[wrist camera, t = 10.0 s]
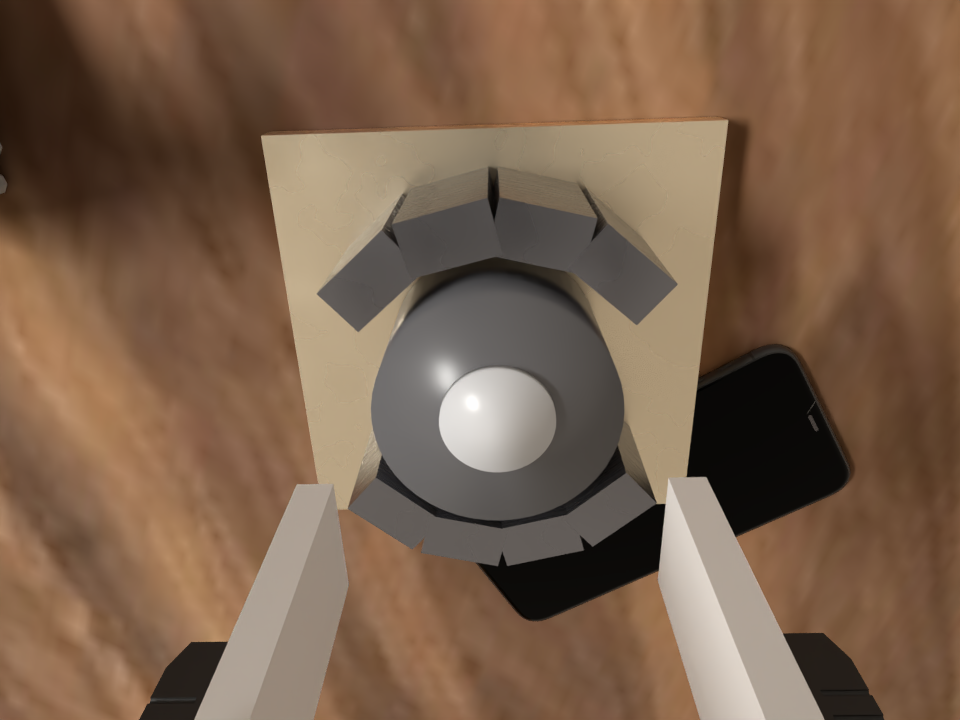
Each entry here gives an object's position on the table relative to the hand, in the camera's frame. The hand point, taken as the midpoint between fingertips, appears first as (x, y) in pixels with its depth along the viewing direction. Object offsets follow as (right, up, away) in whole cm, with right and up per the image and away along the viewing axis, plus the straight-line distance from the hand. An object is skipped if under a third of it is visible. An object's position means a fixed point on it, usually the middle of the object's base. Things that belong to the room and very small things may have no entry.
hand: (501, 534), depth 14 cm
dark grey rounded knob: (0, +4, +9) cm, 10 cm away
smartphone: (+6, -2, +14) cm, 15 cm away
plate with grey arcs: (0, +5, +10) cm, 11 cm away
